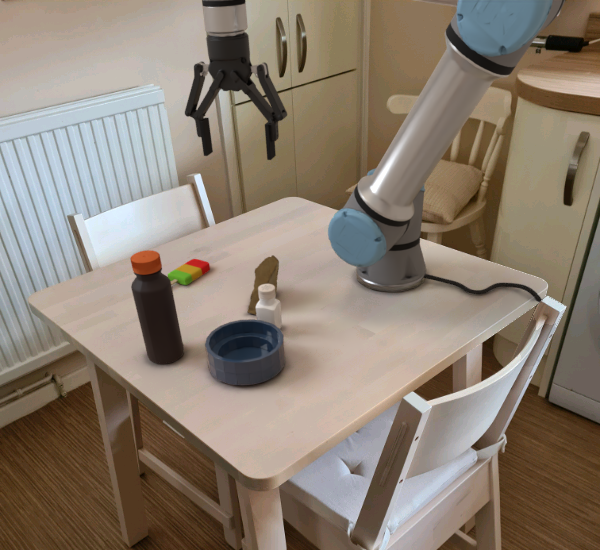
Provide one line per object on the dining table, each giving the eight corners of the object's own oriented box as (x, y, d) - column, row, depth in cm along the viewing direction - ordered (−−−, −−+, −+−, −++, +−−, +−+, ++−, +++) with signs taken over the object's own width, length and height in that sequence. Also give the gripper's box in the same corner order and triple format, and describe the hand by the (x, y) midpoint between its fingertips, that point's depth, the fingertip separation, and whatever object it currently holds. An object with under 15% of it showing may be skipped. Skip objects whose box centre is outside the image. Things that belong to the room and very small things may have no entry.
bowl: (295, 349, 116) (293, 324, 112) (269, 393, 105) (267, 367, 102) (227, 339, 119) (224, 315, 116) (196, 381, 109) (191, 355, 106)
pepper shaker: (257, 334, 120) (252, 291, 114) (264, 324, 123) (260, 281, 117) (276, 337, 119) (273, 293, 113) (282, 326, 122) (280, 283, 116)
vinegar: (168, 340, 120) (147, 244, 107) (191, 352, 116) (173, 254, 104) (140, 356, 116) (116, 258, 103) (164, 369, 112) (142, 269, 100)
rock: (261, 313, 122) (297, 289, 126) (237, 275, 120) (275, 252, 125) (240, 323, 132) (275, 301, 136) (218, 289, 130) (254, 267, 134)
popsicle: (212, 269, 143) (211, 262, 142) (168, 298, 133) (167, 290, 132) (194, 264, 146) (193, 257, 144) (150, 292, 136) (148, 284, 135)
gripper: (300, 29, 109) (305, 153, 122) (173, 29, 115) (191, 146, 129) (286, 36, 103) (292, 165, 116) (154, 36, 110) (174, 158, 123)
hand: (239, 156), depth 122 cm, fingers open, 13 cm apart
